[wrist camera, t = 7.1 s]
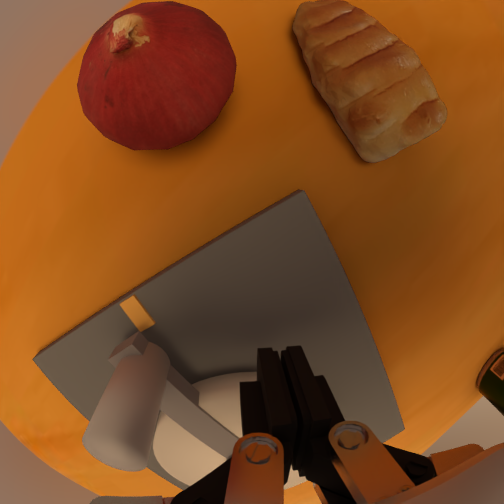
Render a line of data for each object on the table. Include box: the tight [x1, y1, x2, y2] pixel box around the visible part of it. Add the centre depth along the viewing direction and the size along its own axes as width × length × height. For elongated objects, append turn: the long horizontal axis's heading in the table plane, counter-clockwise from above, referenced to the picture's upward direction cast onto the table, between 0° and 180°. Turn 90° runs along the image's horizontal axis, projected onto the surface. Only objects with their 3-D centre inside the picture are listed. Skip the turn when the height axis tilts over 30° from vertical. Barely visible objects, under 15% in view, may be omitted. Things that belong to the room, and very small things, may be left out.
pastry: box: [293, 0, 447, 163], centre depth 11 cm, size 9×7×4 cm
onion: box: [77, 1, 236, 150], centre depth 8 cm, size 6×6×8 cm
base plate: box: [33, 190, 405, 490], centre depth 16 cm, size 20×22×1 cm
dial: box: [82, 331, 307, 489], centre depth 12 cm, size 16×12×7 cm
